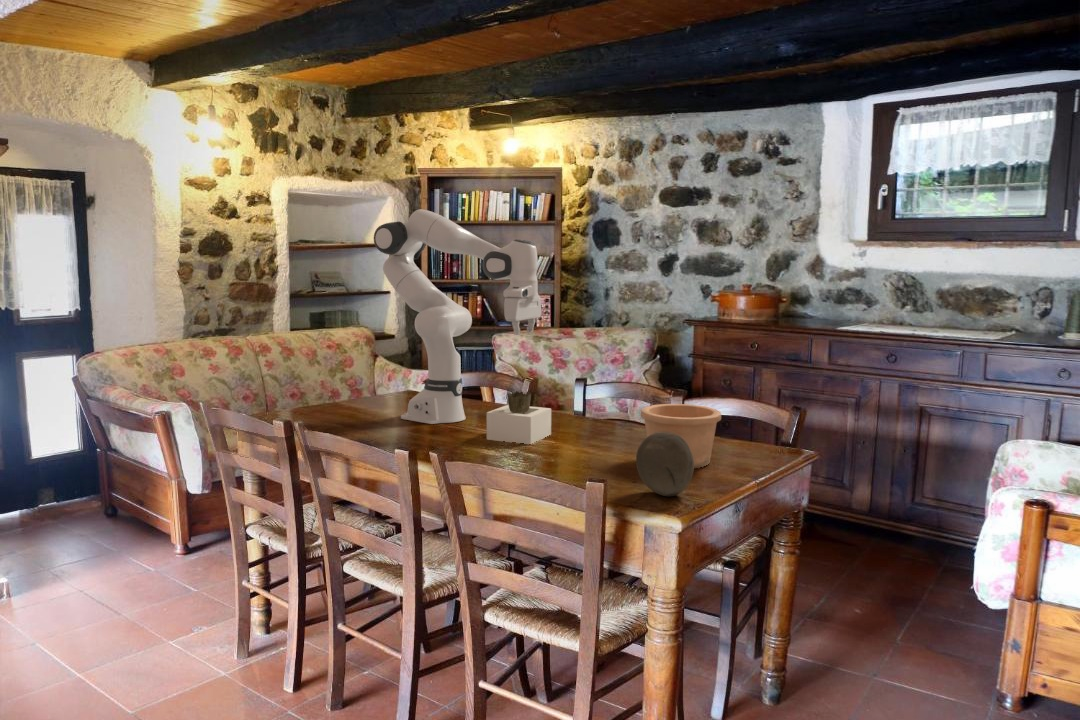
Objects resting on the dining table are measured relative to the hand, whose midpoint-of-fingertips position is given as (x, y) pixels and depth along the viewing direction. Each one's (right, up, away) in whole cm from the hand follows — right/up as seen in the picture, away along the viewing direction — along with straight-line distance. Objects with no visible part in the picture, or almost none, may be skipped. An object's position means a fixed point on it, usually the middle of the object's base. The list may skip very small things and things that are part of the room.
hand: (523, 333), depth 267 cm
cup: (-1, -27, -11) cm, 29 cm away
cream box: (-1, -33, -10) cm, 34 cm away
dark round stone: (+35, -41, -69) cm, 87 cm away
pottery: (+44, -37, -38) cm, 69 cm away
